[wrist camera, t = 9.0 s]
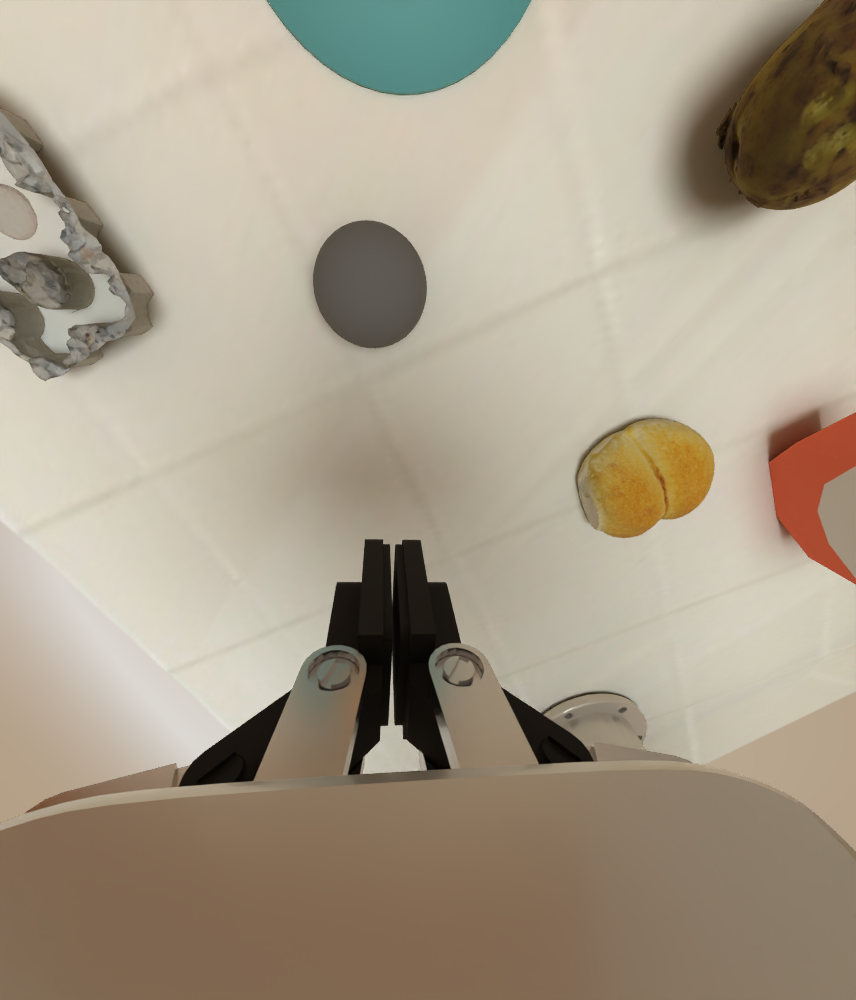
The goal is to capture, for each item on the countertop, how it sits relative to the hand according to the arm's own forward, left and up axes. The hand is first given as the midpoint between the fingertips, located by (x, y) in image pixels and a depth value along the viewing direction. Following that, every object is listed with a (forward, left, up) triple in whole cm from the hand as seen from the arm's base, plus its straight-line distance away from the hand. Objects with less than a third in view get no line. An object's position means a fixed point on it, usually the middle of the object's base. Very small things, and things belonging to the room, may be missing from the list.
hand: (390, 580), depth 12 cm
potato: (+25, -11, -16) cm, 31 cm away
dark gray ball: (+7, +4, -13) cm, 15 cm away
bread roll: (+6, -17, -16) cm, 24 cm away
